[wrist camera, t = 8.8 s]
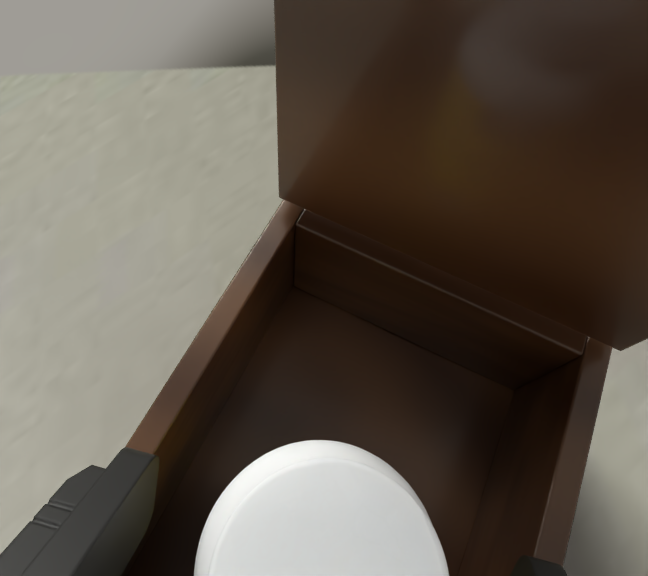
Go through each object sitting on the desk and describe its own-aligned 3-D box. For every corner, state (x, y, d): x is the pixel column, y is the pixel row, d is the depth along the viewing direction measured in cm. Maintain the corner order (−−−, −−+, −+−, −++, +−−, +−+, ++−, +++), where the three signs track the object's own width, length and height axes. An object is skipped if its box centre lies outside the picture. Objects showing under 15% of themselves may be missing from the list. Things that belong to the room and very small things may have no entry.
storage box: (412, 779, 15) (482, 930, 10) (96, 591, 16) (5, 631, 11) (528, 387, 20) (614, 344, 15) (284, 272, 22) (284, 196, 16)
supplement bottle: (392, 476, 18) (500, 444, 9) (377, 655, 15) (502, 859, 6) (247, 452, 18) (207, 396, 9) (211, 628, 15) (105, 794, 6)
